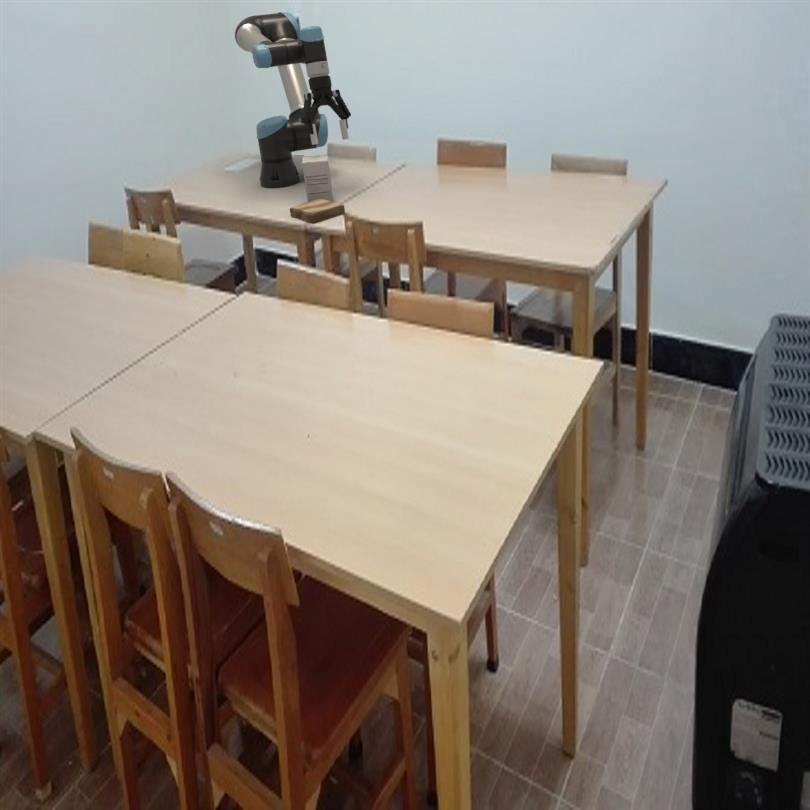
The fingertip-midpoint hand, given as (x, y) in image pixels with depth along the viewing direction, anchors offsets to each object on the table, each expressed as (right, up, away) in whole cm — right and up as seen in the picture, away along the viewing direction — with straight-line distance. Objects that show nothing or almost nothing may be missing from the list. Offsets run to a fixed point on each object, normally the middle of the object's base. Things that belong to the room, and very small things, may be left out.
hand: (330, 141), depth 282 cm
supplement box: (-4, -20, +4) cm, 21 cm away
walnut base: (-3, -27, -10) cm, 29 cm away
